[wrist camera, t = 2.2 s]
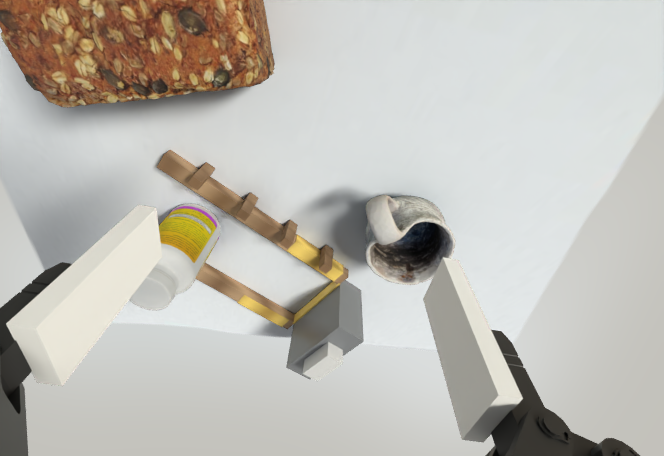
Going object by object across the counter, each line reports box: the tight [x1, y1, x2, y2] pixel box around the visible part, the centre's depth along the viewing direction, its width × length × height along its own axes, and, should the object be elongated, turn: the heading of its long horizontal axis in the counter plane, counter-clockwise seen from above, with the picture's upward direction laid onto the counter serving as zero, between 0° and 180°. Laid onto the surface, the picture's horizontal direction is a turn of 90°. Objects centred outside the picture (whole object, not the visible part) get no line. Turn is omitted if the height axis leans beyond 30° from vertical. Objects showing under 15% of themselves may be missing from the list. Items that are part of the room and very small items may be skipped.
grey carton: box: [287, 280, 363, 381], centre depth 45 cm, size 4×11×11 cm, turn 140°
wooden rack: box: [157, 150, 348, 329], centre depth 43 cm, size 27×16×4 cm, turn 50°
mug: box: [365, 195, 455, 285], centre depth 37 cm, size 10×12×10 cm
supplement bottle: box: [129, 204, 221, 310], centre depth 38 cm, size 7×7×13 cm
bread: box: [0, 0, 275, 108], centre depth 26 cm, size 19×11×10 cm, turn 95°
